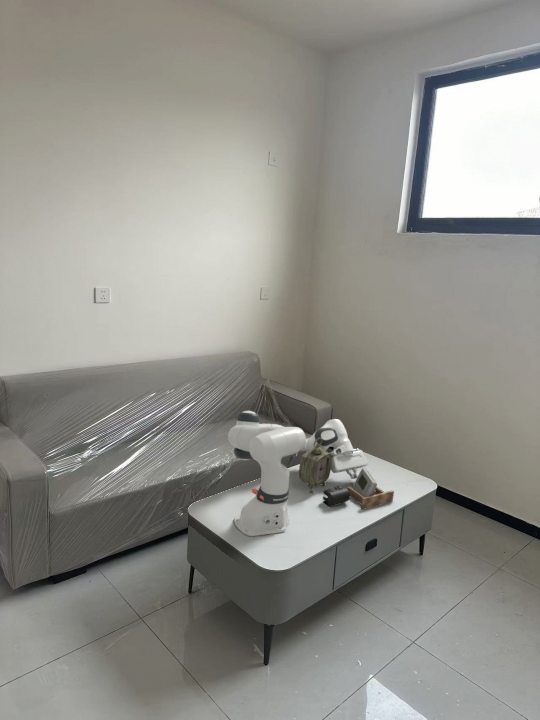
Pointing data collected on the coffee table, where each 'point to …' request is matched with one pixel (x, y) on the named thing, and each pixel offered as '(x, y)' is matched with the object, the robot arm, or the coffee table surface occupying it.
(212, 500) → the coffee table surface
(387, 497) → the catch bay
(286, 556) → the coffee table surface
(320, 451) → the tabletop clock
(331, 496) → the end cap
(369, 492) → the digital clock
